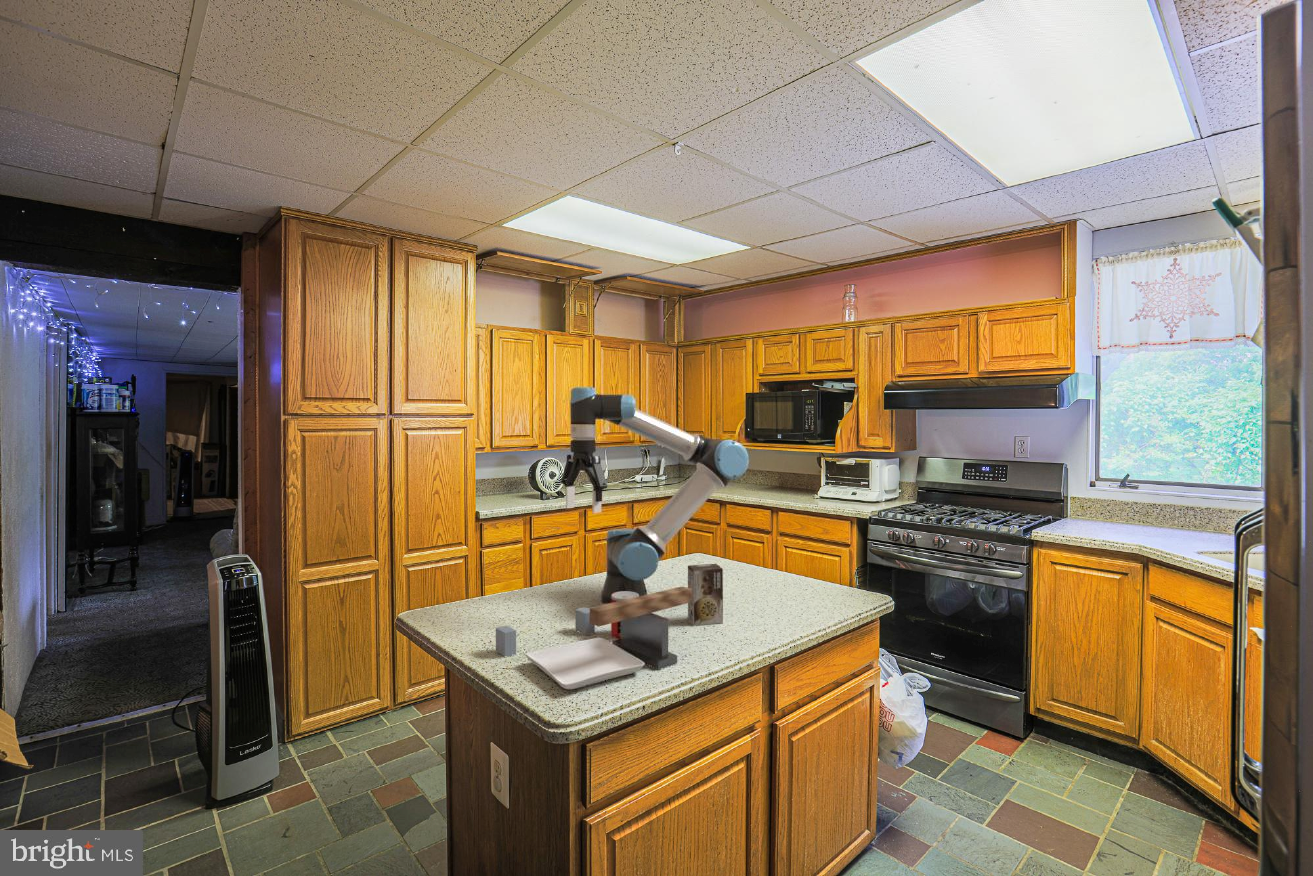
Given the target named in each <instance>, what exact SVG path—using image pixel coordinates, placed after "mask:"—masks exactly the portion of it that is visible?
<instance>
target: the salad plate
mask: <svg viewBox="0 0 1313 876" xmlns="http://www.w3.org/2000/svg"><path fill="white" fill-rule="evenodd" d="M525 657H526V658H527V659H528V661H530V662H531V663H532V664H533V665H535V666H536V667H537V668H539V669H540V670H541V671H543V672H544V673H545V674H546V675H548V676H549V677H550V678H551V679H552V680H553V681H555V682H556V683H557V684H558V685H559V686H560V687H562V688H563V689H565V690H574V689H575V690H576V689H580V688H583V686H584V687H587V686H586V685H588V686H590V685H591V686H592V685H595V684H598V682H599V683H601V681H603V682H606V681H609V680H608V679H610V680H613V679H615V677H617V678H620V677H623V676H626V675H627V676H628V675H629V674H630V675H631V674H633V673H635V672H638V671H640V670H641V669H642V668H644V666H645V665H646V664H645V663H644V662H643V661H641V660H640V659H638V658H636V657H634V656H633V655H631V654H629V653H628V652H626V651H624V650H622V649H621V648H619V647H617V646H616V645H614V644H612V642H611V641H609V640H607V639H605V638H603V637H595V638H590V639H585V640H584V639H583V640H580V641H574V642H569V643H565V644H560V645H556V646H551V647H546V648H541V649H538V650H534V651H533V650H532V651H528V652H526V653H525ZM619 676H620V677H619ZM612 678H613V679H612ZM605 680H606V681H605ZM594 683H595V684H594ZM579 687H580V688H579Z"/></svg>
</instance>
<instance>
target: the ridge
mask: <svg viewBox="0 0 1313 876" xmlns="http://www.w3.org/2000/svg"><path fill="white" fill-rule="evenodd" d="M611 643H612V644H614V645H616V646H617V647H619V648H621V649H622V650H624V651H626V652H628V653H629V654H631V655H633V656H634V657H636V658H638V659H640V660H641V661H643V662H644V663H645V664H644V665H646V664H648V665H647V666H649V665H650V666H649V667H651V666H652V667H651V668H653V667H654V668H653V669H655V668H657V669H660V670H662V669H661V668H663V669H665V667H666V668H668V667H667V666H669V667H670V666H671V665H672V666H674V665H677V664H678V655H676V653H673V652H670V651H669V618H667V617H663V616H662V615H658V614H656V613H654V612H653V613H649V614H645V615H641V616H637V617H633V618H630V619H626V620H622V621H621V639H617V638H616V639H614V640H612V641H611ZM676 663H677V664H676ZM673 664H674V665H673ZM657 669H656V670H657Z"/></svg>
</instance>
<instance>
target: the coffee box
mask: <svg viewBox="0 0 1313 876" xmlns="http://www.w3.org/2000/svg"><path fill="white" fill-rule="evenodd" d="M723 571H724V569H723V568H722V567H721V566H720V565H719V564H717V563H705V564H693V565H692V564H690V565H687V588H690V589H692V602H691V603H687V619H688V621H689V622H690V623H691V624H692V625H693V626H694V625H695V626H704V625H714V624H724V586H723V585H724V577H723V576H724V573H723Z"/></svg>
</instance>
